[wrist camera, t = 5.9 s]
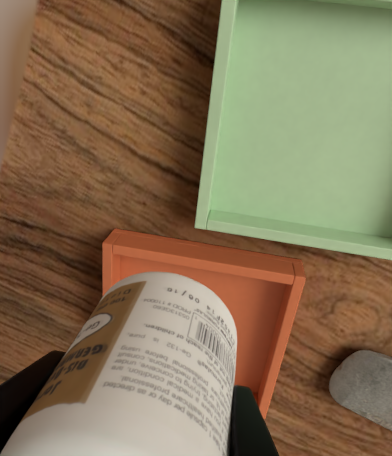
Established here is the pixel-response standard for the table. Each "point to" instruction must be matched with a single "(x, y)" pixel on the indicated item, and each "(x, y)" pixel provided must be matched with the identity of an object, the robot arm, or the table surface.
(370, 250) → the sage tray
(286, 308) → the terracotta tray
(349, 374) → the stone
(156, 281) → the pill bottle
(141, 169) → the table surface
